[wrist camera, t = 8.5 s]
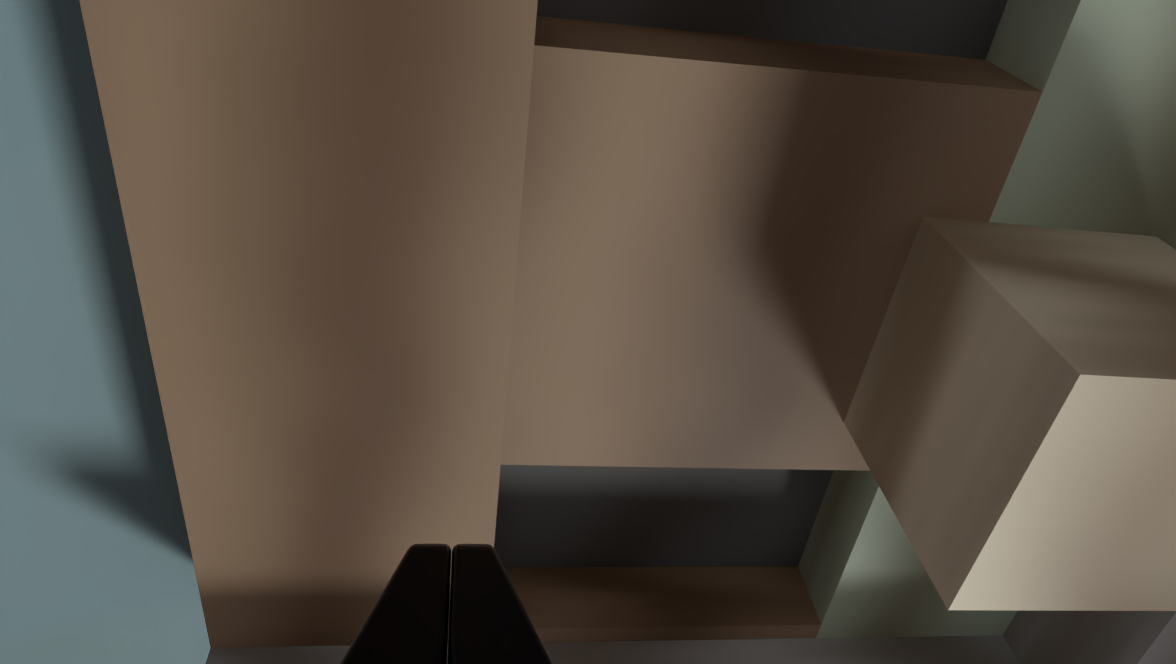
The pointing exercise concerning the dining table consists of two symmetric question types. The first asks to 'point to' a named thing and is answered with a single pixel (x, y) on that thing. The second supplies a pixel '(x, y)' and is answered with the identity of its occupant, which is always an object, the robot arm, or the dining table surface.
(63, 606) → the dining table surface
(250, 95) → the shallow wooden tray
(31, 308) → the dining table surface
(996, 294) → the beech block
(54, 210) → the dining table surface
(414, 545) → the robot arm
